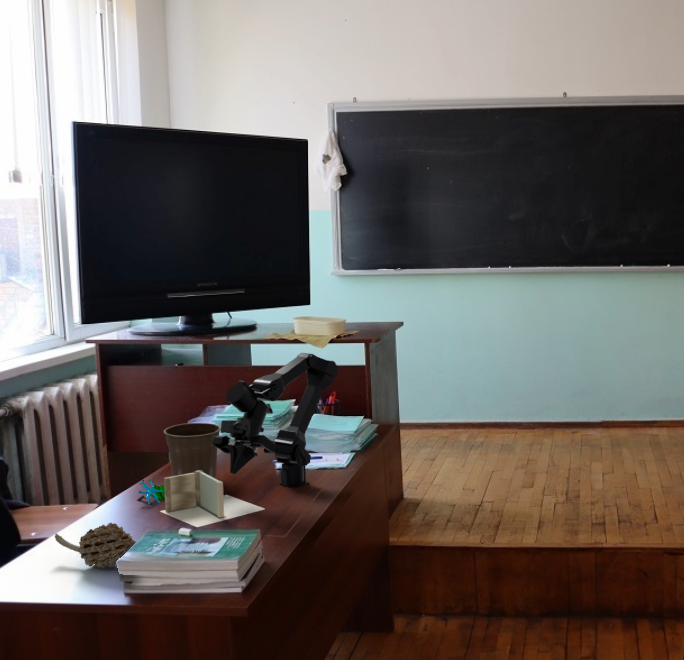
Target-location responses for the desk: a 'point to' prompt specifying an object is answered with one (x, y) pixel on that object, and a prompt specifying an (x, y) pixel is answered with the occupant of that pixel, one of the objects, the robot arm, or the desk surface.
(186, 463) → the plant pot
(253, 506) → the card
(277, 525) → the desk surface
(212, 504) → the sage fence panel
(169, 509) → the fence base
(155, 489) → the stick construction toy
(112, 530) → the pine cone
